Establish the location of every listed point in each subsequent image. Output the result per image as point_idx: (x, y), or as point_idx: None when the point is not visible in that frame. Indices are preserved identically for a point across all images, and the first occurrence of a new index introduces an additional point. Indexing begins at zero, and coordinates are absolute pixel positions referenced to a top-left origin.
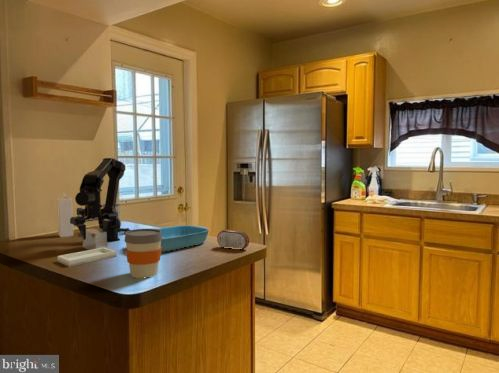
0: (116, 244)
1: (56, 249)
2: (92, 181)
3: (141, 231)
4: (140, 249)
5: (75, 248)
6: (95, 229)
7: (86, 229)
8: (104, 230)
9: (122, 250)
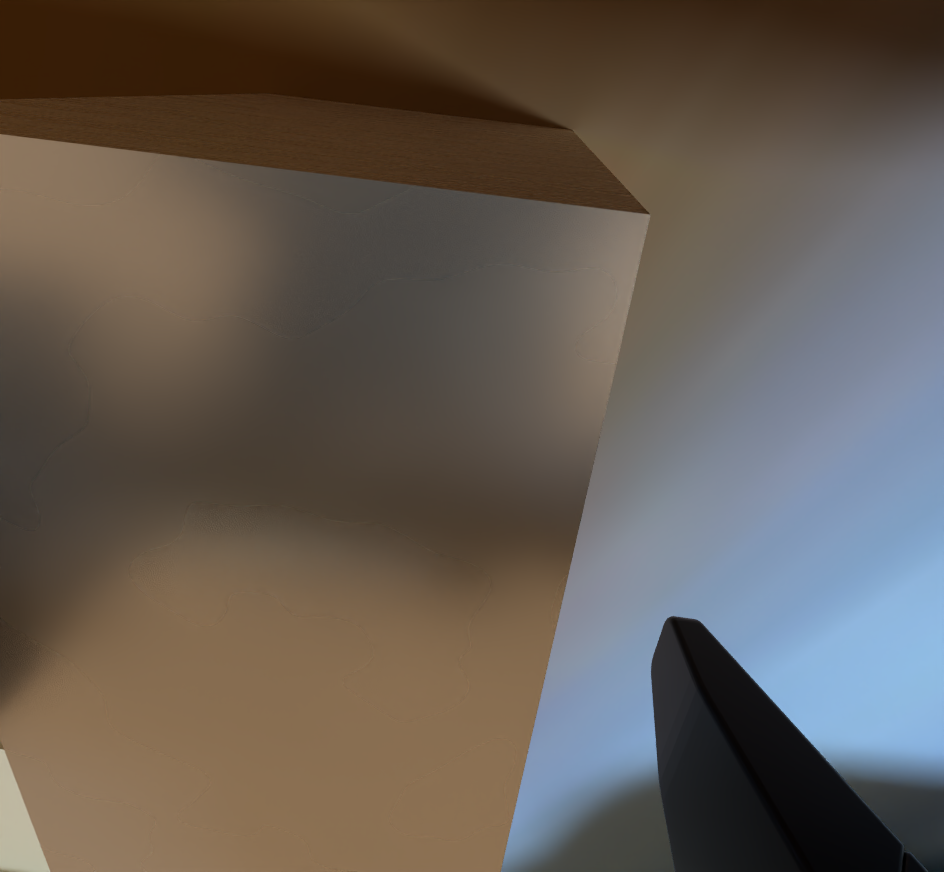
0: (918, 492)
1: None
2: None
3: None
4: None
5: (79, 29)
6: (501, 615)
7: (83, 175)
8: (707, 845)
9: (602, 814)
